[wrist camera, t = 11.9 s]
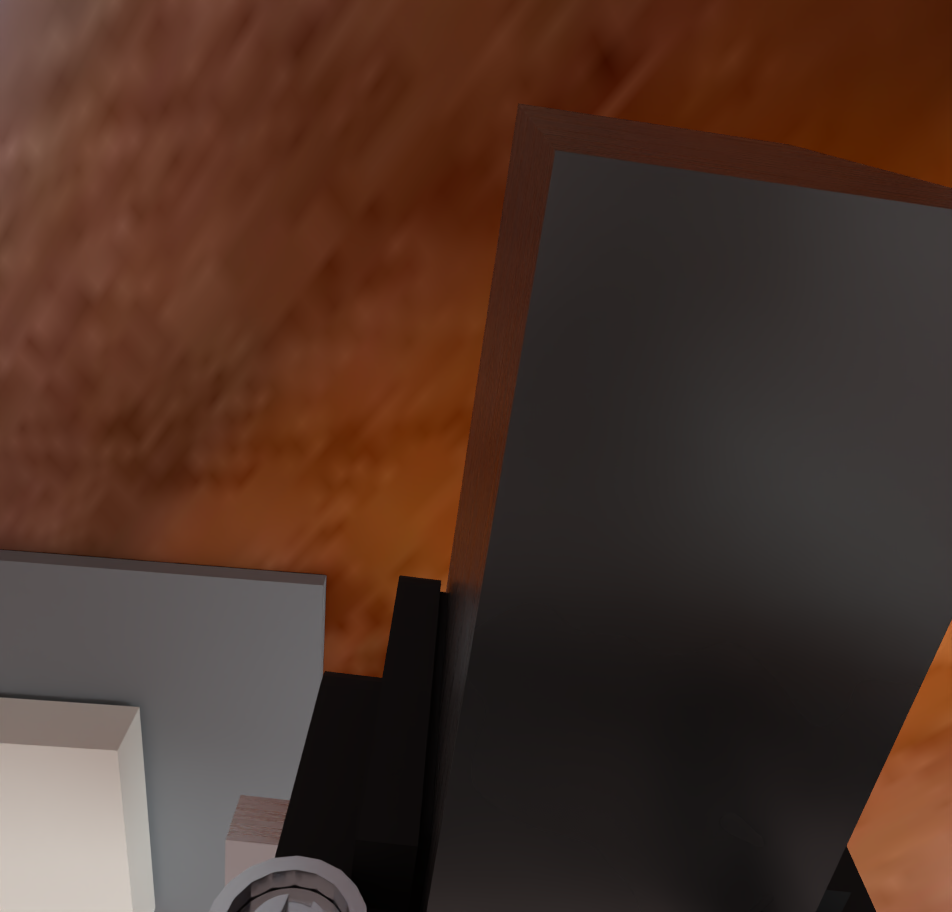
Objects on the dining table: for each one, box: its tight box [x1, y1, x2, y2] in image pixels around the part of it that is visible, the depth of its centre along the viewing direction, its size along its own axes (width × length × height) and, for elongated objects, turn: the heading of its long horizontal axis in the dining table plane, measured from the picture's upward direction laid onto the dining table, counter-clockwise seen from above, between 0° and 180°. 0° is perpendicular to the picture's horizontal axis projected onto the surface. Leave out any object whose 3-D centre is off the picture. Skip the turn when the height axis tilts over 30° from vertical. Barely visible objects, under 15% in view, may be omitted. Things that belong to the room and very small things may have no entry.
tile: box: [0, 697, 155, 912], centre depth 29 cm, size 2×8×10 cm
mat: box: [0, 550, 326, 912], centre depth 30 cm, size 16×18×1 cm
